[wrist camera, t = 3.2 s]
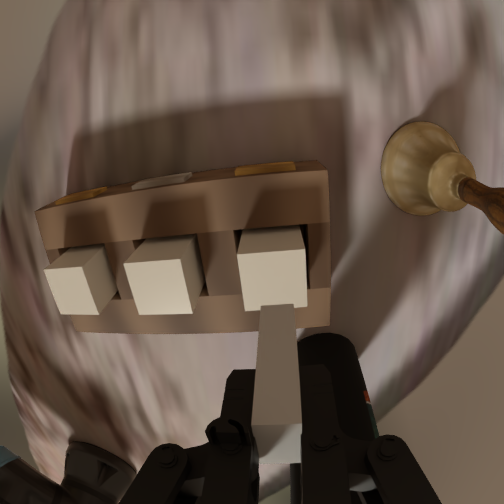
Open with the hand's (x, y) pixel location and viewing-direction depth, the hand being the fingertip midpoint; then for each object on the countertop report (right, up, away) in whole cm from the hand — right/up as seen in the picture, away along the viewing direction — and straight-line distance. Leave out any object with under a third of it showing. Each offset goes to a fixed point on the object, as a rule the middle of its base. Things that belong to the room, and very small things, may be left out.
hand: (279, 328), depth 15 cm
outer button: (0, +4, +9) cm, 10 cm away
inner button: (-15, +3, +11) cm, 18 cm away
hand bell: (+13, +11, +9) cm, 19 cm away
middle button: (-7, +3, +10) cm, 13 cm away
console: (-7, +4, +13) cm, 15 cm away
